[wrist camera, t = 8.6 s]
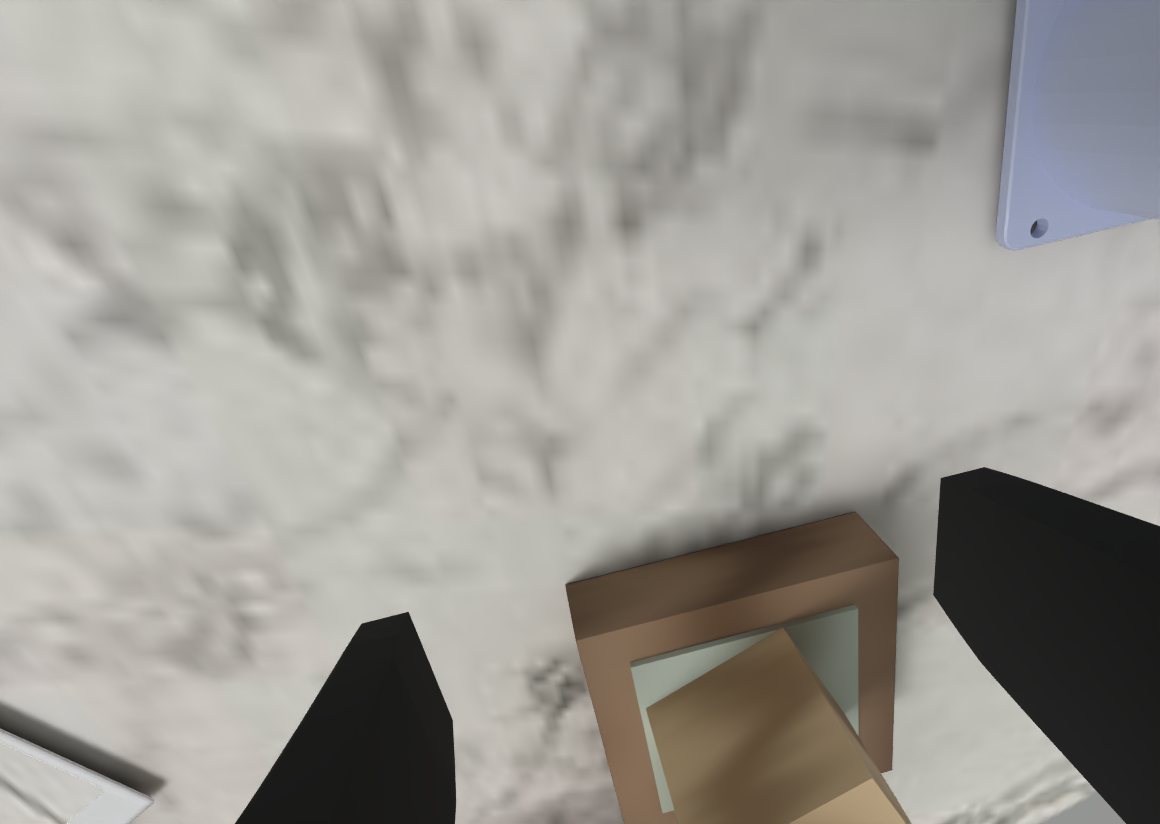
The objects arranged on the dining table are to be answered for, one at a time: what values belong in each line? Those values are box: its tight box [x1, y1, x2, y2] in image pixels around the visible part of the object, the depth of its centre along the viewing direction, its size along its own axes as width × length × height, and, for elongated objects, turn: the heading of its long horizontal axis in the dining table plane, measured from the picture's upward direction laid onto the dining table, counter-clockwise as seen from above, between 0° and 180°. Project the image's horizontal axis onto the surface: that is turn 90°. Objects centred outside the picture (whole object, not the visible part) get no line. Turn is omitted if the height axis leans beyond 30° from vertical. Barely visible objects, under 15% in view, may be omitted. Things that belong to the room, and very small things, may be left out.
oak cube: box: [646, 628, 911, 824], centre depth 19 cm, size 5×5×5 cm
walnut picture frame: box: [565, 512, 899, 824], centre depth 23 cm, size 10×10×3 cm
